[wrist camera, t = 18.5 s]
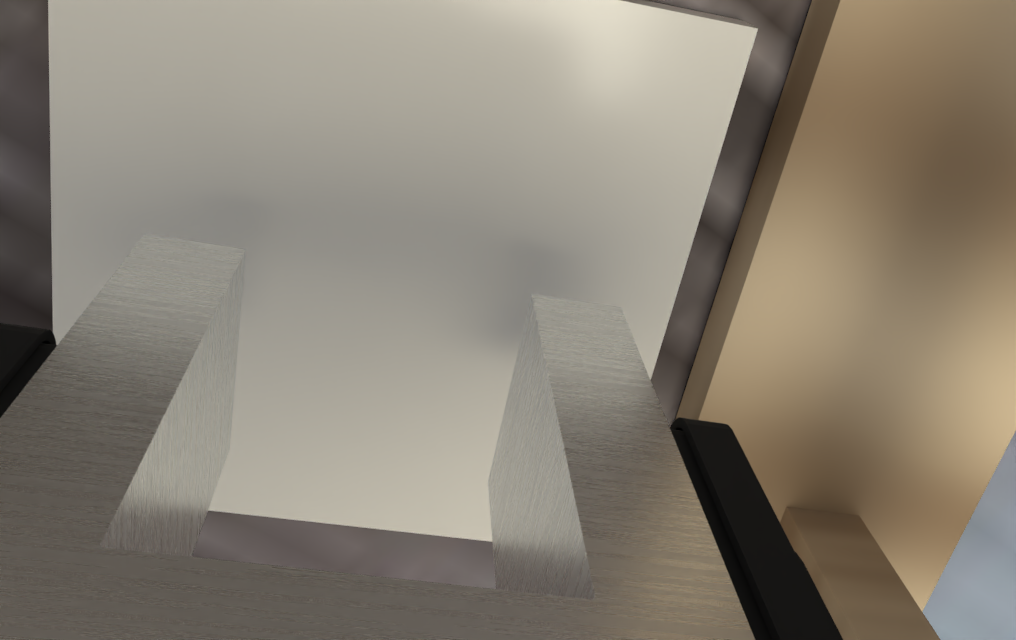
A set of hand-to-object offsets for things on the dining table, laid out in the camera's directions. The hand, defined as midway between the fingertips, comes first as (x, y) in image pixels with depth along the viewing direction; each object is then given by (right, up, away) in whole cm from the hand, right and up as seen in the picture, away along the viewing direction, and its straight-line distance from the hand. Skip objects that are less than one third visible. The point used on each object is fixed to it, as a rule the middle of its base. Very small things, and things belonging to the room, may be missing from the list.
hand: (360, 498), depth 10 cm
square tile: (-1, +3, +6) cm, 7 cm away
